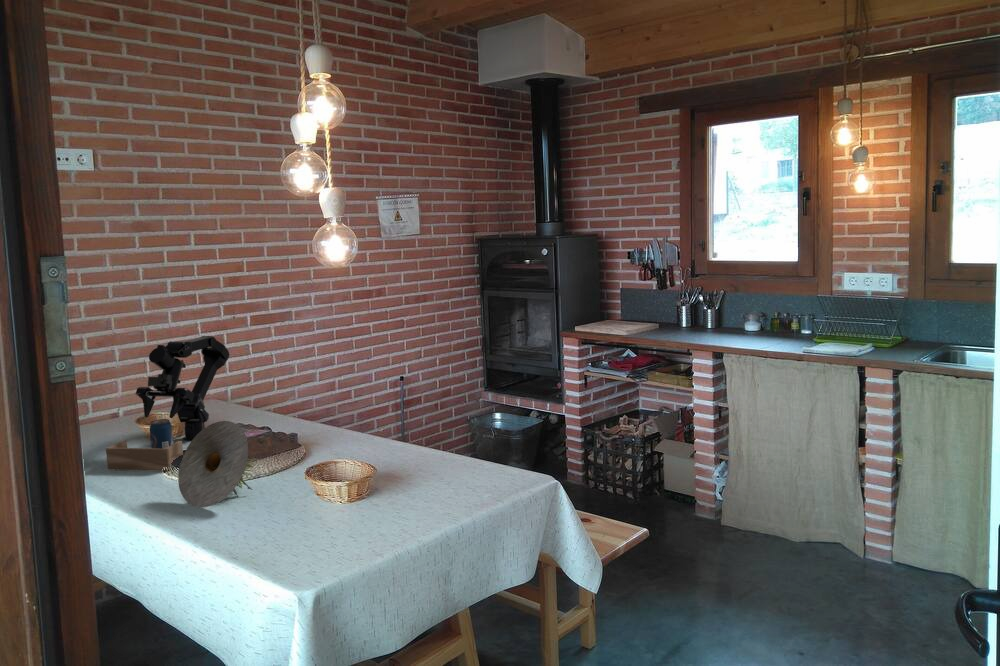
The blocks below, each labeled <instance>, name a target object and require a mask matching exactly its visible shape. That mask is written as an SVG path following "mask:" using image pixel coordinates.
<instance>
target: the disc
mask: <svg viewBox="0 0 1000 666" xmlns="http://www.w3.org/2000/svg"><path fill="white" fill-rule="evenodd" d="M248 457H249V442H248V438H247V435H246V433H245V431H244V429H243V428H242V427H241V426H239V425H238V424H237V423H235V422H233V421H229V420H222V421H220V420H219V421H217V422H213V423H211V424H209V425H207V426H205V428H204V429H203V430H202V431H200V432H199V433H198V434H197V435H196V436H195V437H194V439H193V440H190V443H189V444H188V446H187V447H186V450H185V452H183V458H182V461H181V463H180V464H179V468H178V477H177V478H178V479H177V481H178V489H179V491H180V494H181V496H182V498H183V499H184V500H185V502H186V503H188V504H190V505H191V506H193V507H197V508H207V507H211V506H212V507H213V506H214V505H217V504H218V503H220V502H221V501H223V500H224V499H226V498H227V497H228V496H229V495H230V494H231V493H232V492H233V493H234V494H235V495H236V497H237V498H239V494H238V491H237V489H236V487H239V488H240V489H243V487H242V486H243V485H245V486H246V488H247V490H253V488H252V487H250V486H249V485H248V483H247V482H246V481H245V480H244V476H246V477H248V475H249V476H253V475H252V473H249V472H255V469H254V467H255V466H256V464H254V463H251V462H253V461H257V460H260V459H264V457H263V456H261V457H256V458H251V459H249V458H248ZM246 468H253V469H250V470H249V469H246Z"/></svg>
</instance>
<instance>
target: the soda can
mask: <svg viewBox="0 0 1000 666" xmlns="http://www.w3.org/2000/svg"><path fill="white" fill-rule="evenodd" d="M149 436H150V445H151V446H150V447H151V448H160V449H165V448H167V447H169V446H170V445H172V444H174V435H173V425H172V423H171V422H170V419H167V418H166V419H165V418H160V419H156V420H151V422H150V426H149Z"/></svg>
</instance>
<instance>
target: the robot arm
mask: <svg viewBox="0 0 1000 666" xmlns="http://www.w3.org/2000/svg"><path fill="white" fill-rule="evenodd" d="M200 350H201V351H200ZM196 351H200V353H201V354H202V356H203V361H204V365H203V366H202V369H201V371H200V373H199V375H198V378H197V379H196V381H195V383H194V386H193V388H192V390H190V389H189V388H187V387H177V386H178V385H180V384H181V380H180V376H181V374H182V373H181V372H182V369H186V368H187V365H186V363H185V362H184V360H183V359H184V358H185V359H186V358H188V357H190V356H192V355H193V353H194V352H196ZM179 358H180V359H179ZM229 358H230V351H229V350H228V349H227V347H226V345H225V344H223V343H222V342H220V341H218V340H217V339H216V338H215V336H213V335H202V336H200V337H196V338H192V339H189V340H186V341H185V340H184V341H181V340H180V341H179V340H177V341H176V340H175V341H169V342H167V344H166V345H164V344H158V345H157V347H156V348H154V349H152V350H151V352H150V353H149V354H148V359H149V361H150V362H151V363H152V364H154V365H155V366H157V368H159V369H160V370H162V373H159V374H158V375H157V376H148V377H147V386H138V387H137V388H136V391H135V393H134V394H135V395H136V396H137V397H138V398H140V399H141V400H142V404H143V405H142V406H143V413H144V415H143V416H144V417H145V418H147V419H148V417H149V415H150V414H151V411H152V409H153V407H154V405H155V403H156V397H168V398H169V397H170V398H171V397H172V405H171V409H170V412H169V416H168V417H169V419H173V418H174V417H175V416H176V415H177V416H178V419H179V422H180V423H184V436H183V437H182V440H189V441H192V440H193V439H194V437H195V436H196V435H197V434H198V433H199V432H200V431H202V430H203V429H204V428H206V426H205V423H207V422H208V421H209V418H210V414H209V412H208V411H207V410H205V408H206V406H205V402H204V400H205V397H206V395H207V393H208V391H209V389H210V387H211V384H212V383H213V380H214V378H215V376H216V374H217V372H218V370H219V369H221V368H222V367H224V366H225V365H226V363H227V361H228V360H229ZM181 359H182V360H181ZM151 387H152V388H153V389H154V390H153V389H152V388H151Z"/></svg>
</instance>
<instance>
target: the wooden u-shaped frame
mask: <svg viewBox="0 0 1000 666" xmlns="http://www.w3.org/2000/svg"><path fill="white" fill-rule="evenodd" d="M105 453H106V454H105V457H106V463H107V470H108V469H115V471H153V472H154V471H158V472H161V471H162V469H163V467H169V466H170V465H171V463H172V462H173V460H175V459H176V458H178V457H179V456H181V455H183V456H184V449H183V441H182V440H177V441H176V442H173V444H172V445H170V446H169V447H167V448H165V449H160V448H149V447H128V442H127V439H123V440H120V441H118V442H116V443H114V444H113V445H110V446H107V447H105ZM162 472H163V471H162Z"/></svg>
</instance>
